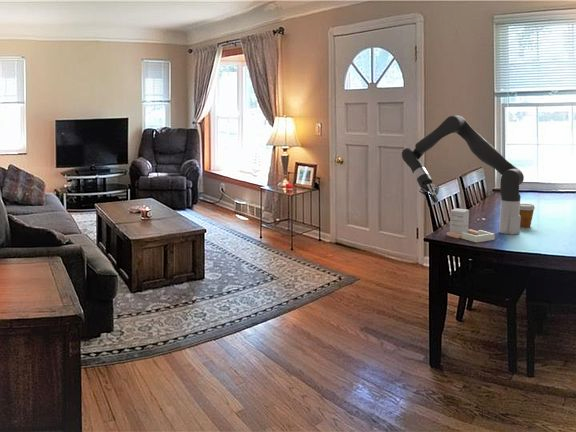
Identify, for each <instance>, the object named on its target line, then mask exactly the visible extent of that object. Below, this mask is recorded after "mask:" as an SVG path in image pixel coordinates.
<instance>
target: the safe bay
mask: <svg viewBox="0 0 576 432" xmlns="http://www.w3.org/2000/svg"><path fill="white" fill-rule="evenodd" d="M477 231H478V236H477V235H473V234H469V233H464V232H462V238H461V239H463V240H467V241H470V242H474V243H481V242H486V241H493V240H495V238H496V237H495V235H496V233H494V232H489V231H485V230H482V229H478V230H477Z"/></svg>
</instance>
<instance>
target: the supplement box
mask: <svg viewBox="0 0 576 432" xmlns="http://www.w3.org/2000/svg"><path fill="white" fill-rule="evenodd" d="M449 217H450V219H449V223H450V225H449V232H454V233H458V234H461V235H462V232H464V233H468V230H469V220H470V210H469V209H465V208H453V209H451V210H450V216H449ZM468 234H469V233H468Z"/></svg>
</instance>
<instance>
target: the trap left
mask: <svg viewBox="0 0 576 432" xmlns="http://www.w3.org/2000/svg"><path fill="white" fill-rule="evenodd" d="M446 236H447V237H451V238H455V239H463V238H462V235H461V234H458V233H454V232H450V231H448V232H446Z"/></svg>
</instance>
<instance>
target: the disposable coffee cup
mask: <svg viewBox="0 0 576 432" xmlns="http://www.w3.org/2000/svg"><path fill="white" fill-rule="evenodd" d="M535 208H536V207H535V205H534V204H531V203H520V212H519V215H520V216H521V221H520V228H524V229H525V228H527V229H528V228H531V226H532V225H531V224H532V221H533V215H534V210H535Z"/></svg>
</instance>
